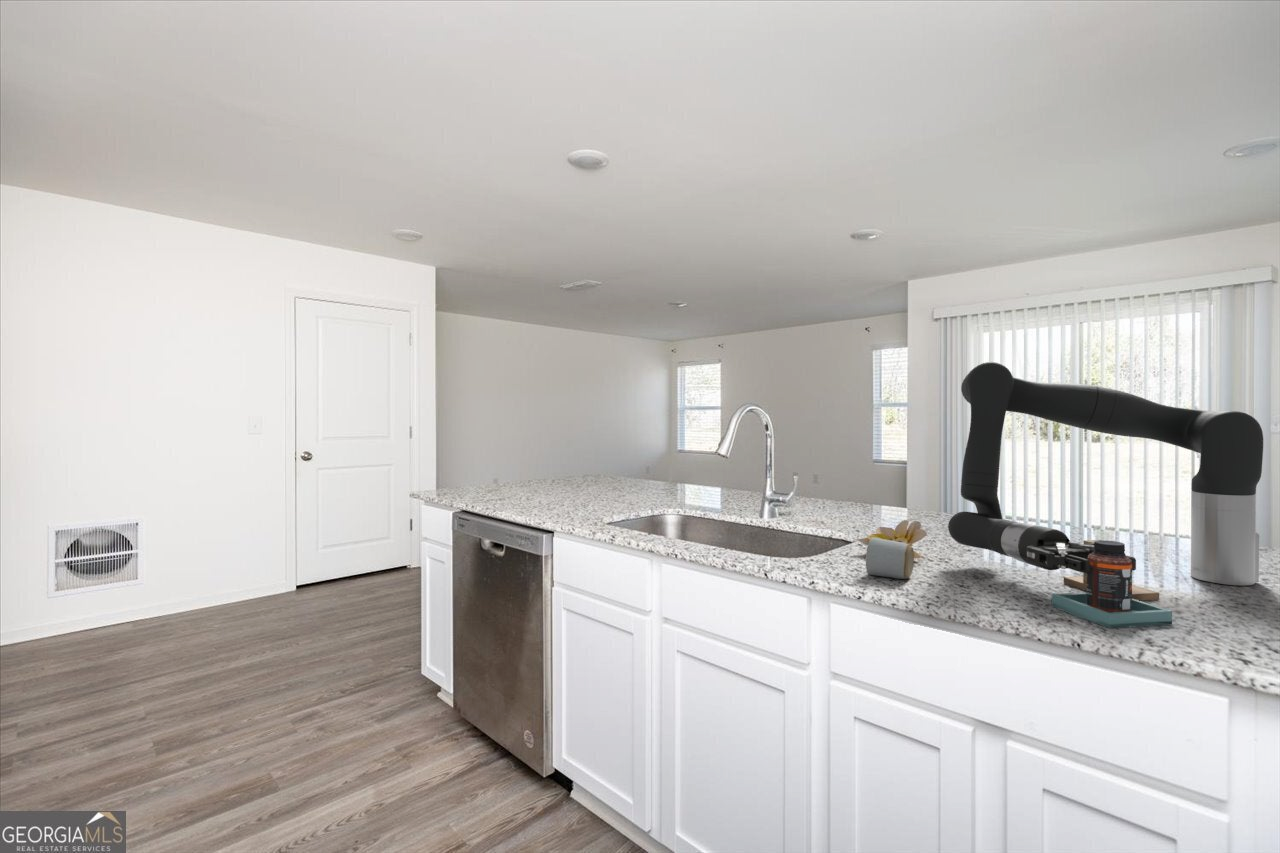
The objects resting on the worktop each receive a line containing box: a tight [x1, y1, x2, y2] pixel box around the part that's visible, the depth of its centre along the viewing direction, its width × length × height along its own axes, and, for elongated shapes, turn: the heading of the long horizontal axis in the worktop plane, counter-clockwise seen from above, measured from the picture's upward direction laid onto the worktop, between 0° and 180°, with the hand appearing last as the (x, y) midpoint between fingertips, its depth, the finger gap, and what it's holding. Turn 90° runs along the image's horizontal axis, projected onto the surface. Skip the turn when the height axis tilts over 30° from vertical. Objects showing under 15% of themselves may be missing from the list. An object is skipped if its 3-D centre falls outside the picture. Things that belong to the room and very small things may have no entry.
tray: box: [1051, 591, 1173, 629], centre depth 102 cm, size 11×11×2 cm
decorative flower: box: [855, 519, 928, 559], centre depth 144 cm, size 15×11×10 cm
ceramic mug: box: [865, 537, 915, 580], centre depth 128 cm, size 11×8×8 cm
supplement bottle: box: [1086, 539, 1133, 613], centre depth 102 cm, size 6×6×11 cm
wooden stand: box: [1063, 539, 1160, 601], centre depth 115 cm, size 8×12×9 cm, turn 8°
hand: (1111, 565), depth 101 cm, fingers open, 8 cm apart
